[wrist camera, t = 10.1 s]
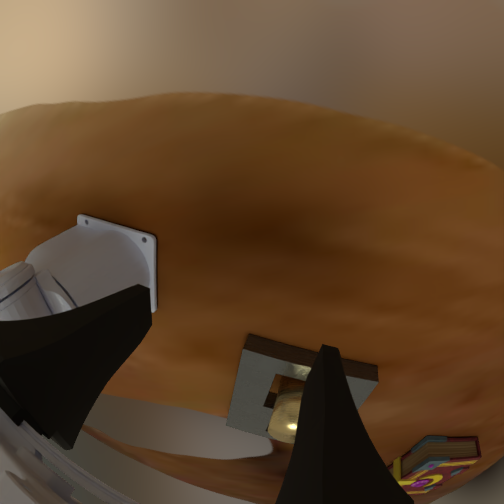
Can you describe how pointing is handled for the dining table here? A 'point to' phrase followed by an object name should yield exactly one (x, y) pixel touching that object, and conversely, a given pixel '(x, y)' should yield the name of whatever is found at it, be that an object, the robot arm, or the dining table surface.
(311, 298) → the dining table surface
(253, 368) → the grey plate with cutouts
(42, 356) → the robot arm
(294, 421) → the brass fitting
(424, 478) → the decorative book
